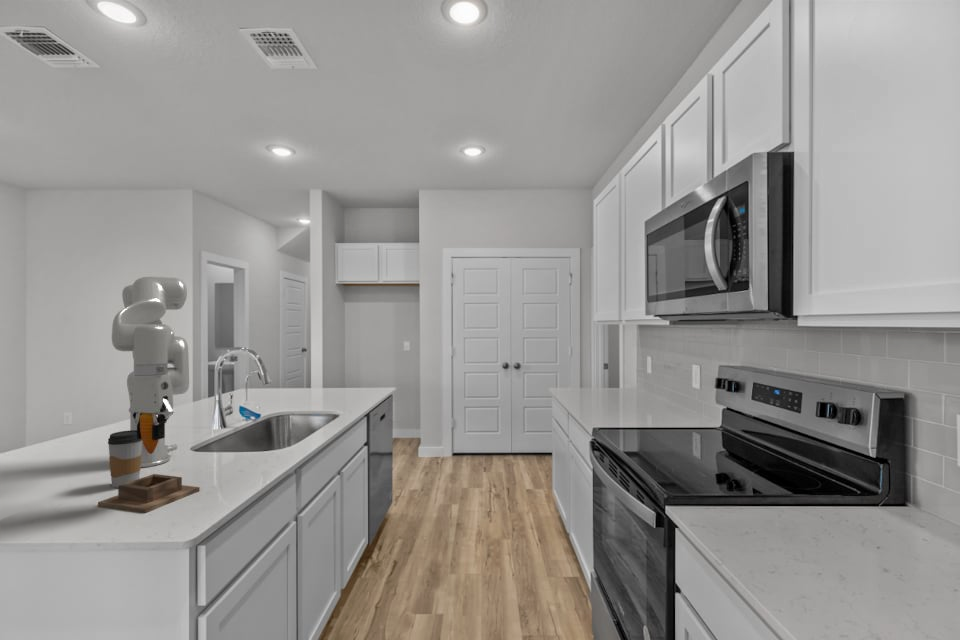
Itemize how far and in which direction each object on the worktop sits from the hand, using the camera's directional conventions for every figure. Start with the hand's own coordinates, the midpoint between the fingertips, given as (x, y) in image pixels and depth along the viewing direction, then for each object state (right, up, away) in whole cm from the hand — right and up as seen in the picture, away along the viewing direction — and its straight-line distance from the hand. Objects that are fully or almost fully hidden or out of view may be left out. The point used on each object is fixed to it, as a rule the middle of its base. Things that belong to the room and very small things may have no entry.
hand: (150, 437), depth 128 cm
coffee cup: (-15, -17, +11) cm, 25 cm away
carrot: (0, -5, 0) cm, 5 cm away
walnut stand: (0, -16, 0) cm, 16 cm away
